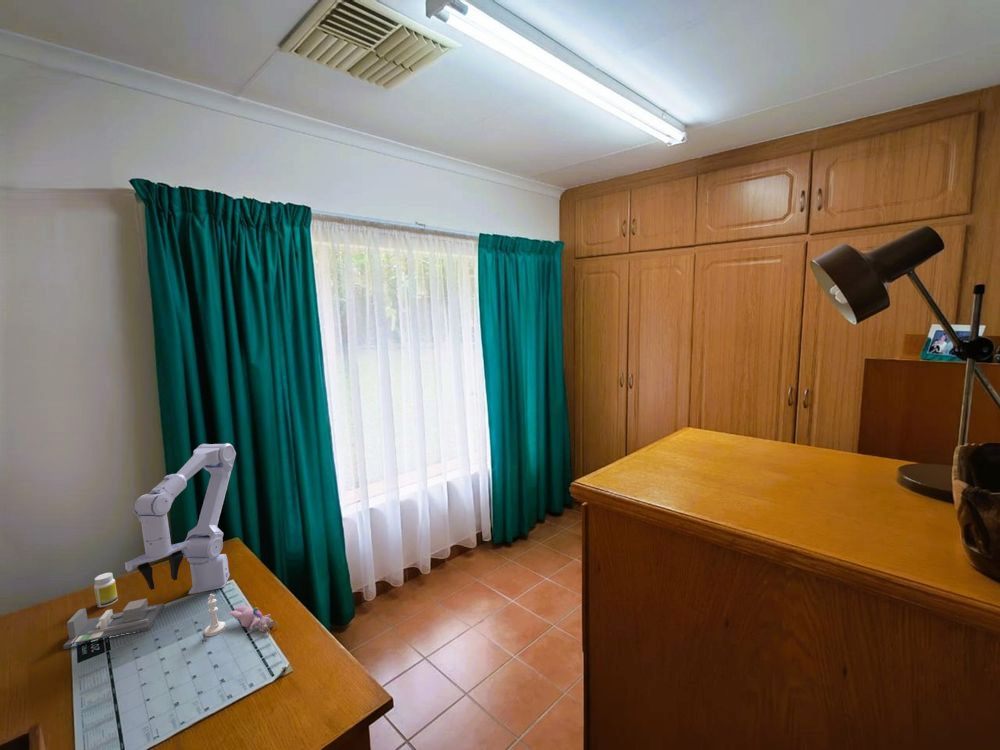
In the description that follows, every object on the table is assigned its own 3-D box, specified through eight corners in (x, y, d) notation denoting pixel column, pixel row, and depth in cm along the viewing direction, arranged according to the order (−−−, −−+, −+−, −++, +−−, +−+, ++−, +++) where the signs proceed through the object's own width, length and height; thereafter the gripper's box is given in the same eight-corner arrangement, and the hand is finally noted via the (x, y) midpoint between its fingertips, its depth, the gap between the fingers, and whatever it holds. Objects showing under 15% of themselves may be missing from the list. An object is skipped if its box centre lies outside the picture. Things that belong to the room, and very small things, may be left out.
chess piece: (230, 626, 119) (226, 590, 118) (212, 638, 115) (207, 601, 114) (218, 621, 121) (214, 587, 120) (200, 633, 117) (195, 597, 116)
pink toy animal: (283, 628, 120) (242, 609, 125) (283, 608, 119) (242, 589, 124) (263, 643, 114) (221, 623, 119) (263, 623, 113) (221, 603, 118)
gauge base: (164, 606, 130) (161, 588, 129) (149, 629, 120) (146, 610, 119) (86, 623, 124) (83, 604, 123) (63, 649, 114) (60, 628, 113)
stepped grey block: (148, 611, 126) (146, 598, 125) (142, 620, 122) (140, 607, 121) (115, 618, 123) (113, 605, 123) (108, 627, 119) (106, 614, 119)
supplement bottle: (122, 598, 135) (118, 571, 134) (107, 608, 130) (103, 580, 130) (108, 598, 136) (103, 571, 135) (92, 607, 131) (88, 580, 130)
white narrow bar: (113, 618, 123) (112, 608, 123) (100, 634, 116) (99, 624, 116) (108, 619, 123) (106, 610, 122) (95, 636, 116) (93, 625, 116)
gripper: (181, 523, 131) (187, 567, 133) (118, 544, 120) (126, 592, 121) (191, 529, 127) (197, 574, 128) (126, 550, 115) (134, 600, 117)
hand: (163, 583), depth 124 cm, fingers open, 5 cm apart
